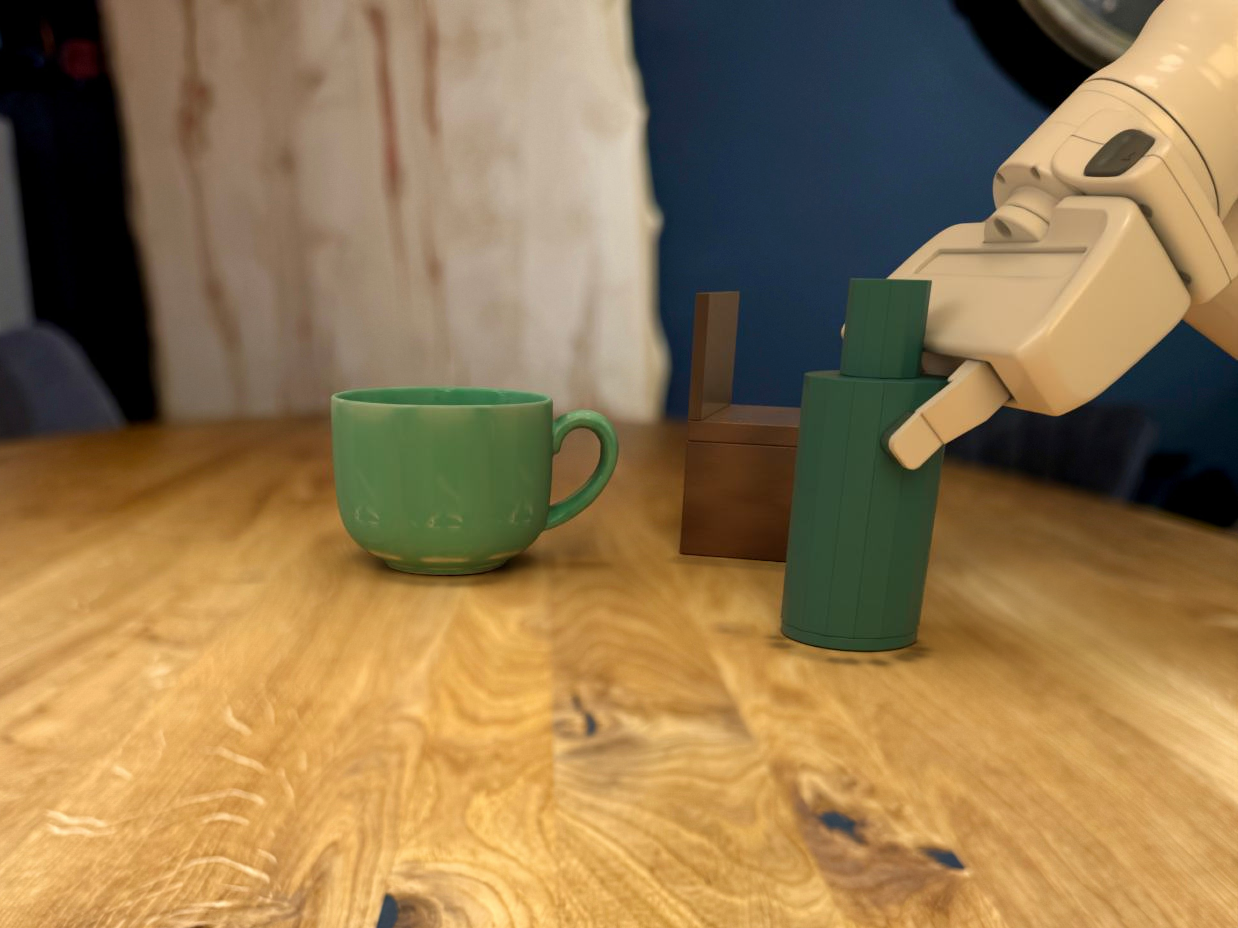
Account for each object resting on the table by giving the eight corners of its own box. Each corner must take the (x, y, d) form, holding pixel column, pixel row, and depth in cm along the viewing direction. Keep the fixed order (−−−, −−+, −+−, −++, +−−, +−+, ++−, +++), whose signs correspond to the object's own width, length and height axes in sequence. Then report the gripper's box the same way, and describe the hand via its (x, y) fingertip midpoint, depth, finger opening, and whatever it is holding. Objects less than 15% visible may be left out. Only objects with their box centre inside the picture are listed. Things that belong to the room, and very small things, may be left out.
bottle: (894, 617, 69) (940, 279, 61) (934, 651, 63) (990, 281, 55) (768, 616, 68) (800, 276, 61) (796, 650, 62) (835, 278, 55)
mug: (322, 583, 73) (312, 401, 69) (353, 540, 84) (346, 382, 80) (618, 590, 73) (627, 409, 69) (610, 547, 84) (616, 390, 80)
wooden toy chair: (866, 533, 91) (897, 295, 84) (854, 567, 80) (887, 298, 74) (710, 522, 93) (727, 290, 87) (679, 553, 83) (696, 292, 76)
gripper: (947, 170, 66) (747, 376, 69) (1195, 138, 48) (912, 417, 51) (1012, 270, 69) (817, 464, 72) (1269, 274, 51) (997, 533, 54)
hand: (858, 445), depth 61 cm, fingers closed on bottle, 7 cm apart
